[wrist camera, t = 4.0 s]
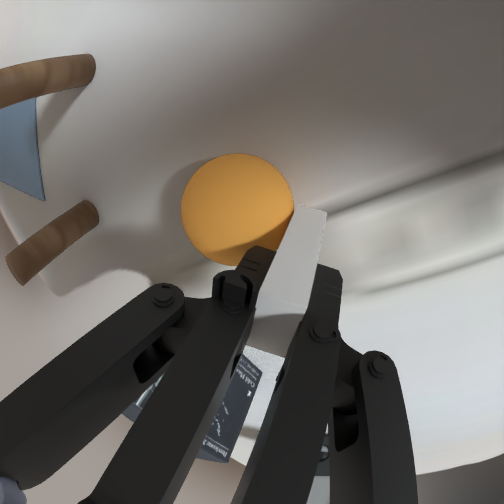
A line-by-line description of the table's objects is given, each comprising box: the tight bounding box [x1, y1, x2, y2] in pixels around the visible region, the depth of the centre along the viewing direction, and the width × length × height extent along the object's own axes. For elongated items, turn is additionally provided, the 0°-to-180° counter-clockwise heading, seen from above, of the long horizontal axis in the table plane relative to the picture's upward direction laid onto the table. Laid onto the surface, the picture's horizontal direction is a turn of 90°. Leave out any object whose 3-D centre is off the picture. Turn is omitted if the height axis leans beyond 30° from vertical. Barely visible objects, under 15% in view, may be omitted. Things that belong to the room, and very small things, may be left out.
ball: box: [181, 154, 294, 266], centre depth 14 cm, size 6×6×6 cm
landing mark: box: [0, 97, 45, 201], centre depth 20 cm, size 14×14×1 cm
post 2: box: [6, 200, 99, 286], centre depth 18 cm, size 3×3×9 cm
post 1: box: [0, 54, 96, 109], centre depth 11 cm, size 3×3×9 cm
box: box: [122, 354, 262, 463], centre depth 22 cm, size 11×7×10 cm, turn 40°
